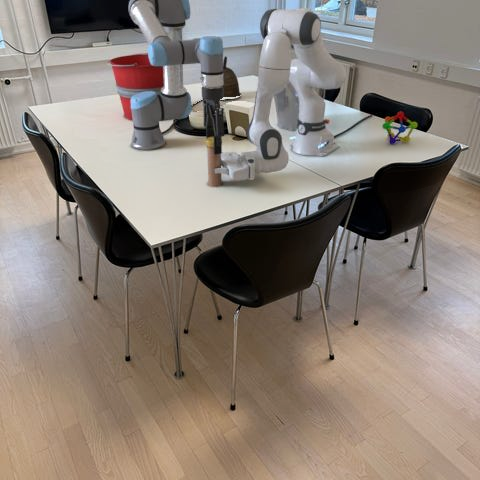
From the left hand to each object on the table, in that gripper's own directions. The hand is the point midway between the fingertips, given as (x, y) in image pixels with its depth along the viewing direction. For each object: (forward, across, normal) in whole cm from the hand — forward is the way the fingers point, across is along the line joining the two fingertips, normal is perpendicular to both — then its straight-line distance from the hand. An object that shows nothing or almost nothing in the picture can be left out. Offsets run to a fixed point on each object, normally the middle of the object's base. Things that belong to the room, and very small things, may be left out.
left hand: (214, 150), depth 164 cm
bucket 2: (+13, -50, +66) cm, 84 cm away
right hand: (+7, 0, -1) cm, 7 cm away
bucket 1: (+13, -101, 0) cm, 102 cm away
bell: (+13, -118, +56) cm, 131 cm away
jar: (+13, 0, 0) cm, 13 cm away
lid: (-4, 0, 0) cm, 4 cm away
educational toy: (+13, -7, +96) cm, 97 cm away
